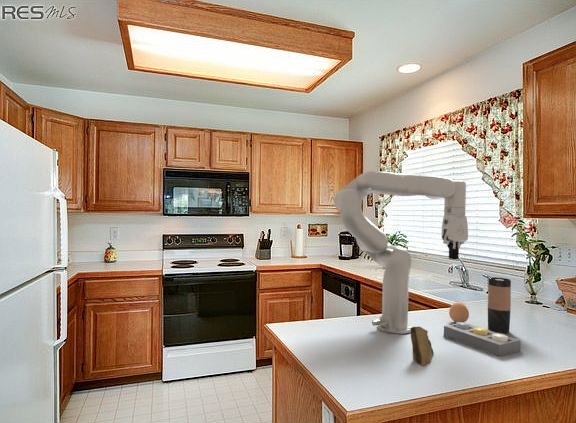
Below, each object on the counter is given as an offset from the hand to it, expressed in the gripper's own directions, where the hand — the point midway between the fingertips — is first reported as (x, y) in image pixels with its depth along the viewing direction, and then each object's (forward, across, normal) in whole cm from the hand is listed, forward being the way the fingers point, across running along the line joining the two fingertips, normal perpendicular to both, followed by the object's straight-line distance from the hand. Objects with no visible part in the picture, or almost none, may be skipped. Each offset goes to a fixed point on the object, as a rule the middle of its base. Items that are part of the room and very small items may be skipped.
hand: (453, 258), depth 143 cm
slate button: (+26, -5, -8) cm, 27 cm away
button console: (+27, -5, -16) cm, 32 cm away
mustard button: (+26, -5, -16) cm, 30 cm away
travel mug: (+27, +15, -9) cm, 32 cm away
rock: (+27, -34, -18) cm, 47 cm away
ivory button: (+26, -5, -22) cm, 34 cm away
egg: (+27, +9, +4) cm, 29 cm away
